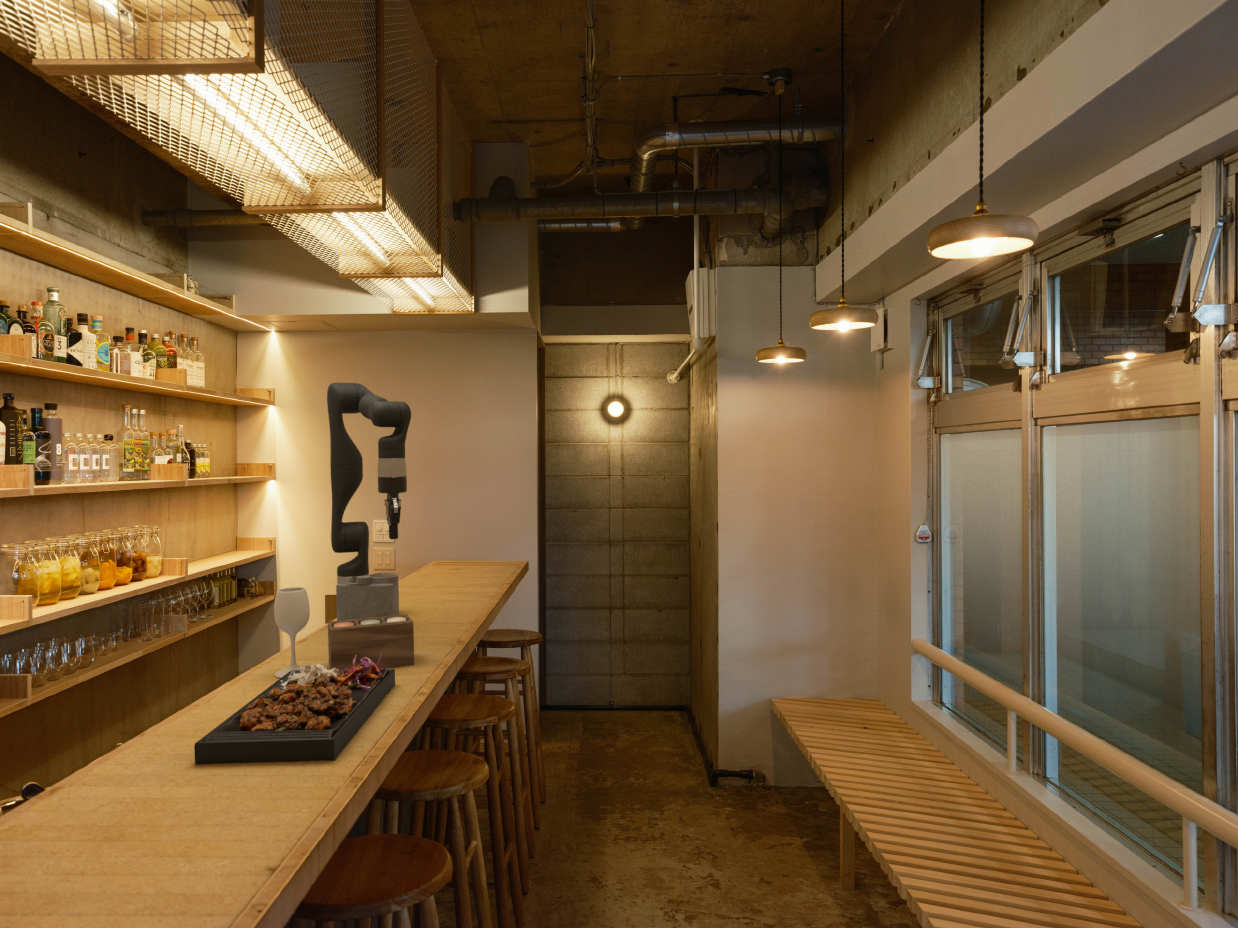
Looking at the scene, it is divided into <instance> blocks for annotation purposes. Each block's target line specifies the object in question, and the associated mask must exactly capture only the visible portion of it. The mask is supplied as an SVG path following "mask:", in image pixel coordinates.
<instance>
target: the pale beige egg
mask: <svg viewBox="0 0 1238 928" xmlns="http://www.w3.org/2000/svg"><path fill="white" fill-rule="evenodd" d="M399 621H406V618H404V617H393V618H389V619H387V623H389V622H399Z"/></svg>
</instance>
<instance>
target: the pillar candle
mask: <svg viewBox="0 0 1238 928" xmlns="http://www.w3.org/2000/svg"><path fill="white" fill-rule="evenodd" d="M369 576H370V579H369V582H370V583H369V584H393V613H394V615H400V596H399V595H400V594H399V593H400V592H399V590H400V587H399V573H397V572H396V573H395V572H384V570H382V572H377V573H371V574H369Z"/></svg>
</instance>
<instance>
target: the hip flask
mask: <svg viewBox="0 0 1238 928" xmlns="http://www.w3.org/2000/svg"><path fill="white" fill-rule="evenodd" d="M369 579H370V576H358V577H357V580H358V582H357V583H348V584H338V585H337V584H336V585H335V591H336V593H335V594H336V621H340V620H350V619H361V618H371V617H382V616H392V615H394V613H393V584H369V583H370V582H369Z"/></svg>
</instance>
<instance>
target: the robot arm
mask: <svg viewBox="0 0 1238 928" xmlns="http://www.w3.org/2000/svg"><path fill="white" fill-rule="evenodd" d="M326 404H327V413H328V424H329V426H328V427H329V435H330V436H329V437H330V444H329V445H330V457H329V458H330V465H329V466H330V485H331V527H330V528H331V529H330V530H331V531H330V538H331V539H330V543H331V549H332V551H333V552H334V553H335V554H343V553H344V554H345V553H346V554H347V553H357V555H356V556H355V557H354V558H353V559H350V560H349V561H347V562H344V563H342V564H339V565H338V566H337V568H336V578H337V579H336V581H337V583H336V585H338V584H348V583H357V582H358V580H357V577H358V576H369V575H370V567H369V551H370V550H369V549H370V548H369V547H370V529H369V525H368V523H367V522H366V521H348V522H347V521H343V518H344V514H345V511H346V509H347V508H348V505H349V503H350V501H351V500H352V498H353V497H354V495H355V494H356V492H357V490H358V489H359V487H360V485H361V483H362V482H363V479H364V478H363V477H364V468H363V467H364V466H363V465H364V464H363V455H362V454H361V452H360V450H359V449H358V446H357V445H356V444H355V443H354V441H353V439H352V438H351V436H350V435H349V434H348V433H349V432H348V431H347V428H346V426H345V423H344V417H343V414H344V415H345V414H346V415H347V414H354V415H355V414H361V415H362V416H363V417H364V418H365V419H368V420H370V421H371V423H372V425H374V427H378V428H394V430H393V433H391V434H390V435H386V436H382V437H380V438H379V439H378V441H377V447H378V448H377V452H378V454H377V455H378V457H377V458H378V459H377V460H378V462H377V491H378V493H379V494H386V499H384V507H385V516H386V522H387V525H388V538H389V539H390V540H397V539H399V528H398V527H399V524H400V522H401V510H402V499H400V496H399V494H402V493H403V494H404V493H406V492H407V491H408V481H407V480H408V479H407V478H408V473H407V463H406V440H407V434H408V431H409V427H410V422H411V419H412V410H411V407H410V405H409V404H408V403H406V401H394V400H392V401H391V400H388V399H387V398H384V397H382V396H378V395H377V394H374V393H373V392H372V391H371V390H369V389H368V388H367V387H366V386H365V385H364V384H362V383H358V382H332V383H330V384H329V385H328V387H327V393H326Z"/></svg>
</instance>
